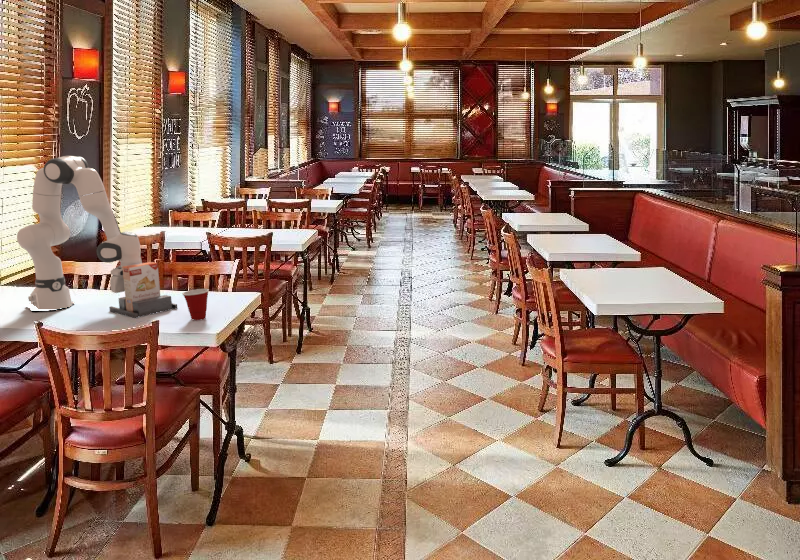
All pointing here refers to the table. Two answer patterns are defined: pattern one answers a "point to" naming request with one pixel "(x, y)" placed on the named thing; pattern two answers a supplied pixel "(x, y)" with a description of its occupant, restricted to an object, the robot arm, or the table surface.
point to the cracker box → (140, 282)
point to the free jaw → (122, 303)
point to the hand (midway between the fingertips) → (134, 298)
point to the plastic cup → (197, 303)
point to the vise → (147, 306)
